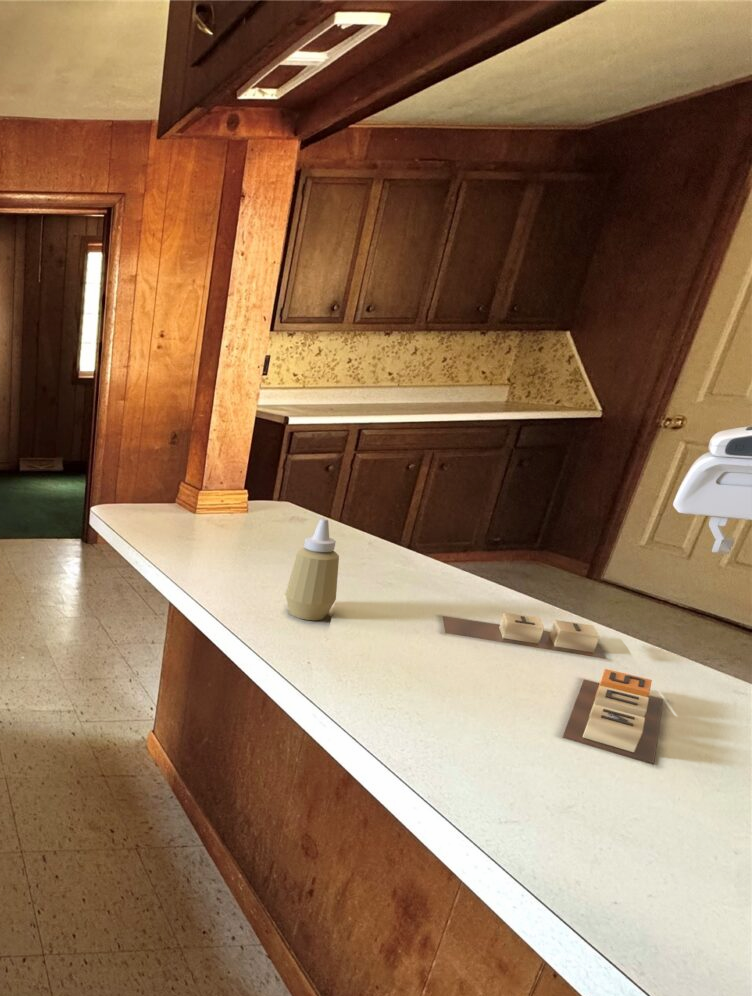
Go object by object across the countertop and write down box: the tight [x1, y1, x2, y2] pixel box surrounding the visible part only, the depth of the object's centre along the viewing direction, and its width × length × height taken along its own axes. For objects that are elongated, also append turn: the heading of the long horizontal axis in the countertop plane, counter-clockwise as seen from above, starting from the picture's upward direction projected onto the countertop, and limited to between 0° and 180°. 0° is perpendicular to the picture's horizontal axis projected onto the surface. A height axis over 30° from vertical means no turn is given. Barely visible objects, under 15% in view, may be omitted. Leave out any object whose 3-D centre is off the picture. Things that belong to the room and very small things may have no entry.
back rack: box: [442, 612, 607, 660], centre depth 107 cm, size 20×8×4 cm, turn 58°
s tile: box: [595, 668, 653, 698], centre depth 89 cm, size 5×5×3 cm
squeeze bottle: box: [285, 517, 340, 621], centre depth 117 cm, size 8×8×18 cm
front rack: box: [562, 679, 664, 765], centre depth 85 cm, size 20×8×4 cm, turn 133°
